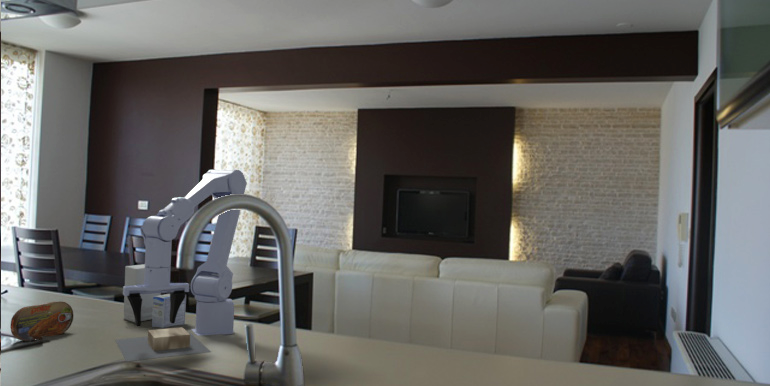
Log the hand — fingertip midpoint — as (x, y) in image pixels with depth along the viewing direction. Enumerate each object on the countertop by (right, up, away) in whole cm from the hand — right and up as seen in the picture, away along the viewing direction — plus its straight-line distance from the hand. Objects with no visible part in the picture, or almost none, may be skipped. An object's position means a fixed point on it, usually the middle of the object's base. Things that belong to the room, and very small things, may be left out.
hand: (155, 323), depth 133 cm
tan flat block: (-1, -4, 0) cm, 4 cm away
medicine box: (-6, -6, +23) cm, 24 cm away
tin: (-31, -5, +7) cm, 32 cm away
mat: (+1, -6, +1) cm, 6 cm away
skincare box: (-16, -6, +30) cm, 35 cm away
